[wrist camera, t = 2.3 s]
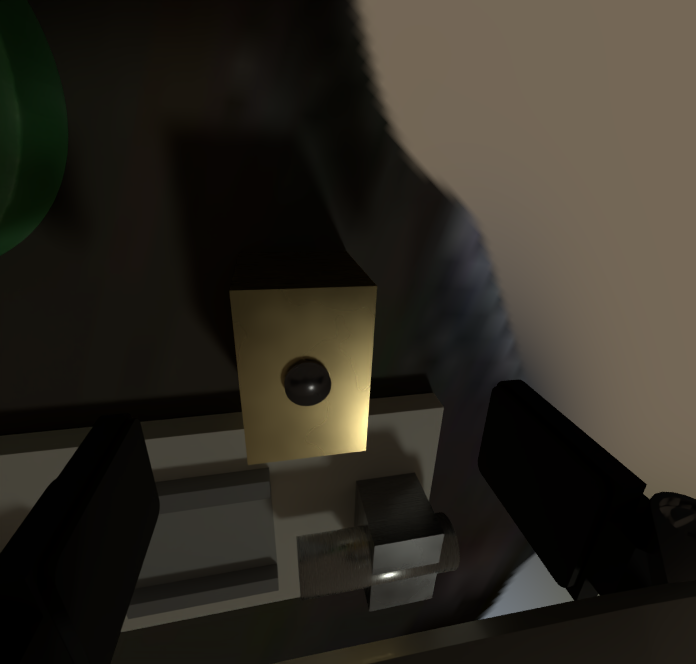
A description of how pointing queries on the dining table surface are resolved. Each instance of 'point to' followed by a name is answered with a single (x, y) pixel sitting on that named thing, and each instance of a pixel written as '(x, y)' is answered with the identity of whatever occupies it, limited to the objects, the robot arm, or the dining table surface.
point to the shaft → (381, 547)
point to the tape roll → (28, 124)
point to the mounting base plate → (229, 502)
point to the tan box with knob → (303, 353)
